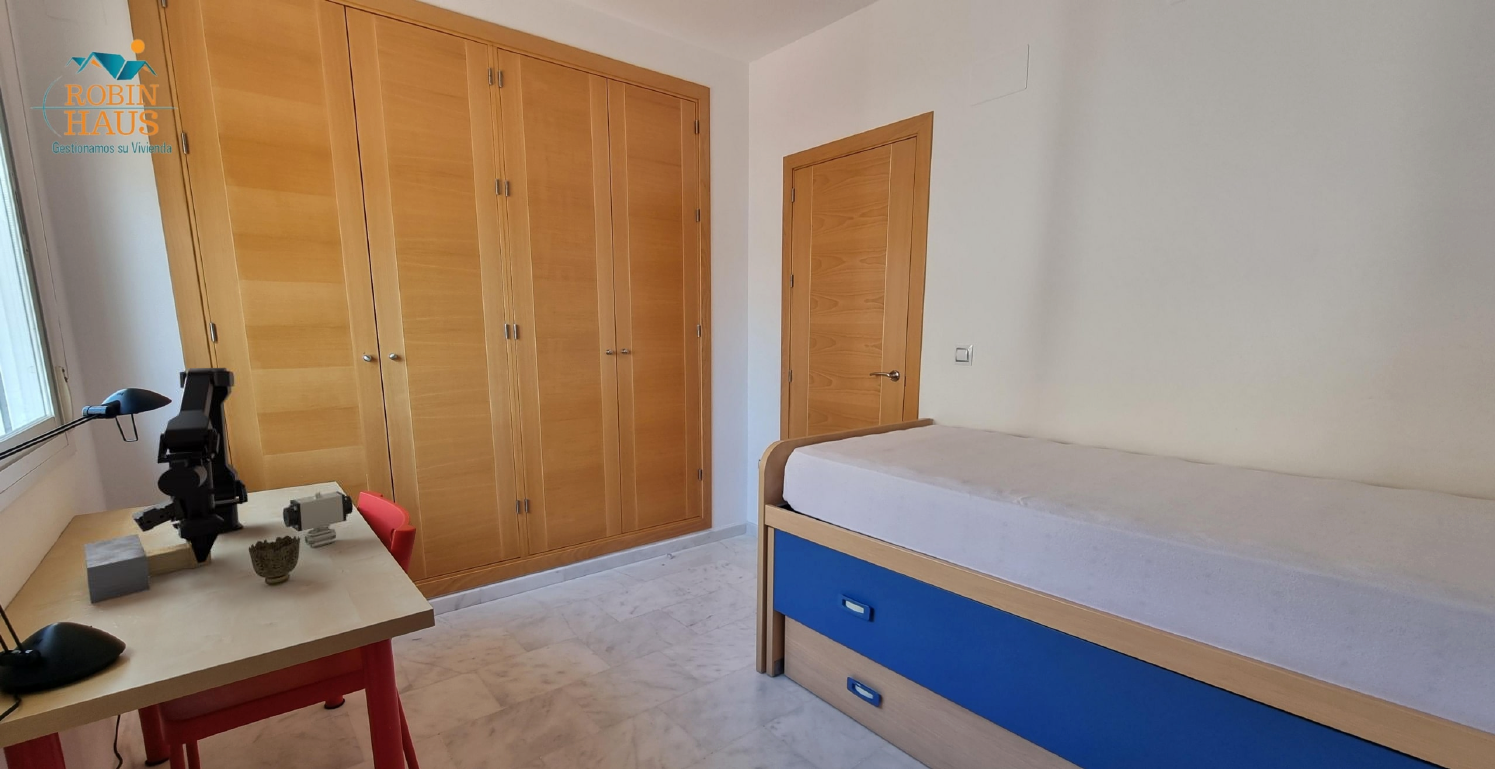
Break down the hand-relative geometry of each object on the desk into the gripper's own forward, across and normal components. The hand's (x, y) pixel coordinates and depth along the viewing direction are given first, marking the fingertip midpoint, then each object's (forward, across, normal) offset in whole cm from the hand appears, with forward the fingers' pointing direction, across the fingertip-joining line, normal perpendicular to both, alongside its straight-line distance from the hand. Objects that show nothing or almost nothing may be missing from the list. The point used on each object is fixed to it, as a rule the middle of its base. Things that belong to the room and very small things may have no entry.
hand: (199, 559), depth 112 cm
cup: (+1, +24, +8) cm, 25 cm away
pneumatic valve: (+1, +6, +19) cm, 20 cm away
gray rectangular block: (+1, 0, -11) cm, 11 cm away
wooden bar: (+1, 0, -6) cm, 6 cm away
